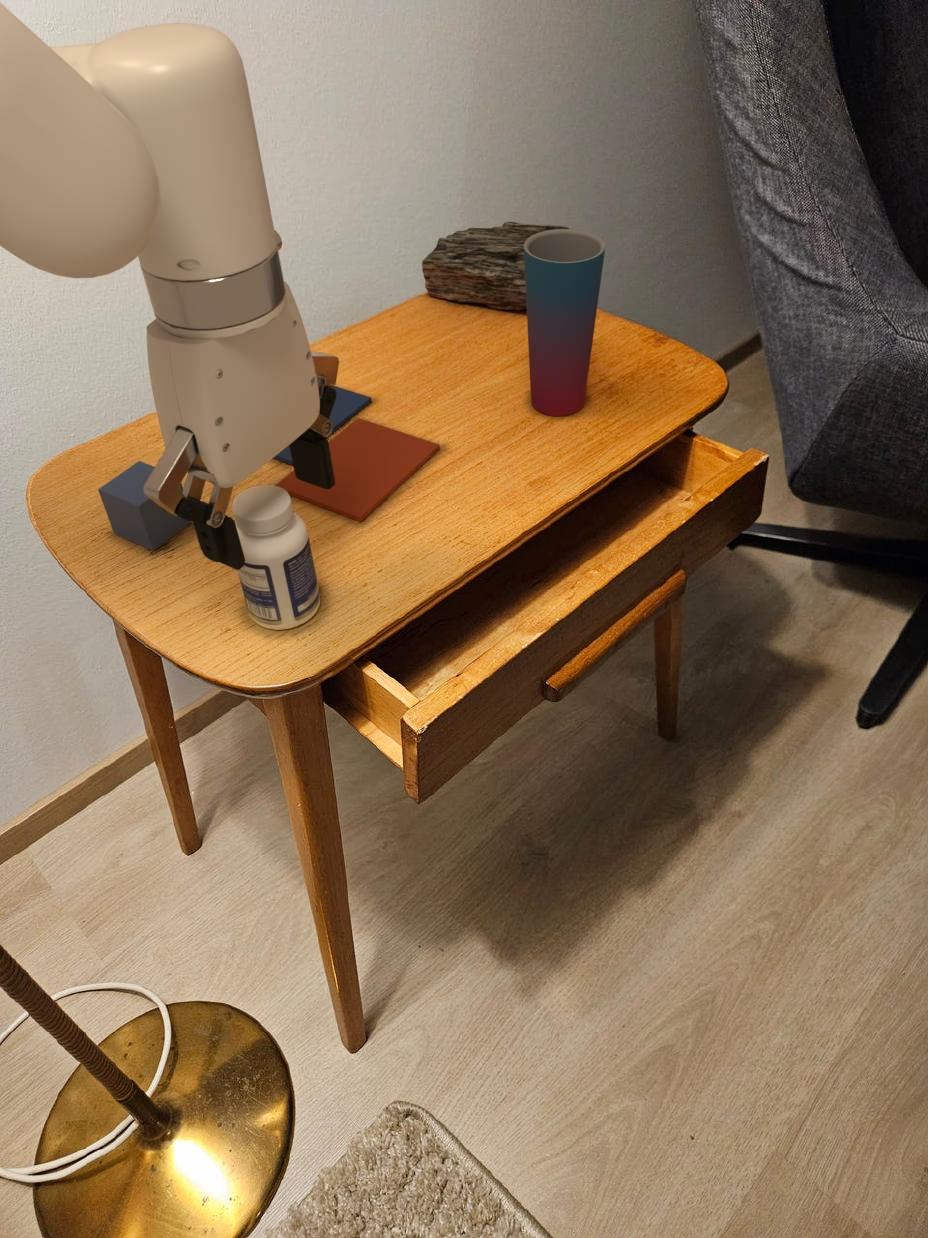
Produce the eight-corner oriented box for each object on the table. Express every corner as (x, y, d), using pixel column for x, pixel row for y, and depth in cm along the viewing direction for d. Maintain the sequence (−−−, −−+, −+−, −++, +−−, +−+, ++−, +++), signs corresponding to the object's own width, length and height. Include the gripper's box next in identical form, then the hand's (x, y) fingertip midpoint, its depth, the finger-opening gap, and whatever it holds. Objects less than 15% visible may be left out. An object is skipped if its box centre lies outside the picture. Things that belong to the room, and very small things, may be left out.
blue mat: (292, 465, 85) (291, 460, 84) (215, 437, 88) (214, 433, 88) (371, 401, 92) (371, 397, 91) (298, 378, 95) (297, 373, 95)
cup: (511, 390, 92) (512, 235, 82) (577, 378, 94) (586, 223, 83) (536, 427, 88) (540, 267, 77) (605, 413, 89) (618, 254, 79)
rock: (464, 263, 114) (460, 210, 110) (590, 278, 109) (591, 223, 104) (420, 305, 106) (414, 250, 102) (553, 324, 101) (553, 267, 97)
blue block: (153, 551, 77) (138, 506, 73) (113, 534, 78) (97, 489, 75) (192, 520, 79) (180, 476, 76) (153, 504, 81) (139, 460, 78)
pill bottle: (312, 575, 74) (293, 471, 67) (328, 621, 70) (309, 515, 63) (242, 592, 73) (215, 487, 66) (254, 639, 69) (227, 534, 62)
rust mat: (360, 522, 79) (360, 517, 78) (275, 489, 82) (274, 485, 82) (440, 449, 86) (439, 444, 85) (358, 422, 89) (358, 417, 89)
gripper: (264, 214, 61) (307, 441, 73) (52, 336, 51) (143, 576, 63) (360, 236, 58) (388, 469, 70) (155, 370, 48) (230, 616, 60)
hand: (272, 520), depth 66 cm, fingers open, 9 cm apart
